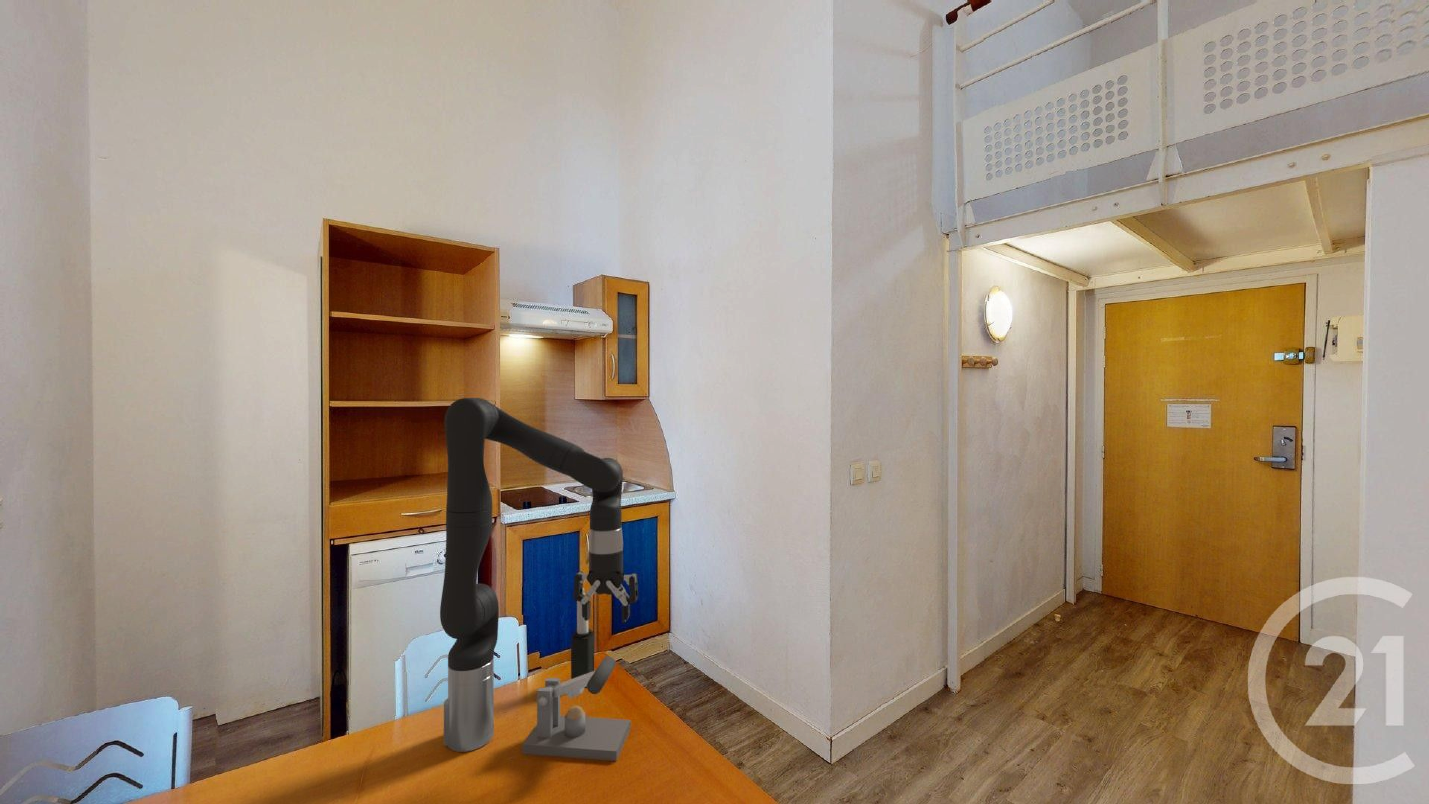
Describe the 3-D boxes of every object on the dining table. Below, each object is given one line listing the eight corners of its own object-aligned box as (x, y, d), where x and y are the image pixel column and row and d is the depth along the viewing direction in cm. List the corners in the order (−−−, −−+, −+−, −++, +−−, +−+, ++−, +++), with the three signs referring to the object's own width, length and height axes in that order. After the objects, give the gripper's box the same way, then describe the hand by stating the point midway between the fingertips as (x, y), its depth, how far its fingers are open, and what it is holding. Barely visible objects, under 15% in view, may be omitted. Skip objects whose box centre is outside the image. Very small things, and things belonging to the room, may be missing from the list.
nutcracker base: (522, 753, 114) (522, 697, 114) (544, 723, 125) (544, 671, 125) (616, 760, 112) (616, 703, 112) (630, 728, 123) (630, 676, 123)
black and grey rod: (587, 688, 140) (587, 592, 140) (569, 686, 141) (569, 590, 141) (595, 678, 145) (595, 585, 145) (578, 676, 146) (578, 584, 146)
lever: (536, 717, 114) (530, 701, 114) (555, 692, 124) (549, 677, 124) (604, 693, 113) (598, 676, 113) (618, 669, 122) (612, 654, 123)
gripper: (568, 551, 118) (569, 625, 118) (632, 553, 116) (632, 628, 116) (581, 542, 125) (581, 612, 125) (641, 544, 124) (641, 615, 124)
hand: (606, 620), depth 121 cm, fingers open, 8 cm apart
